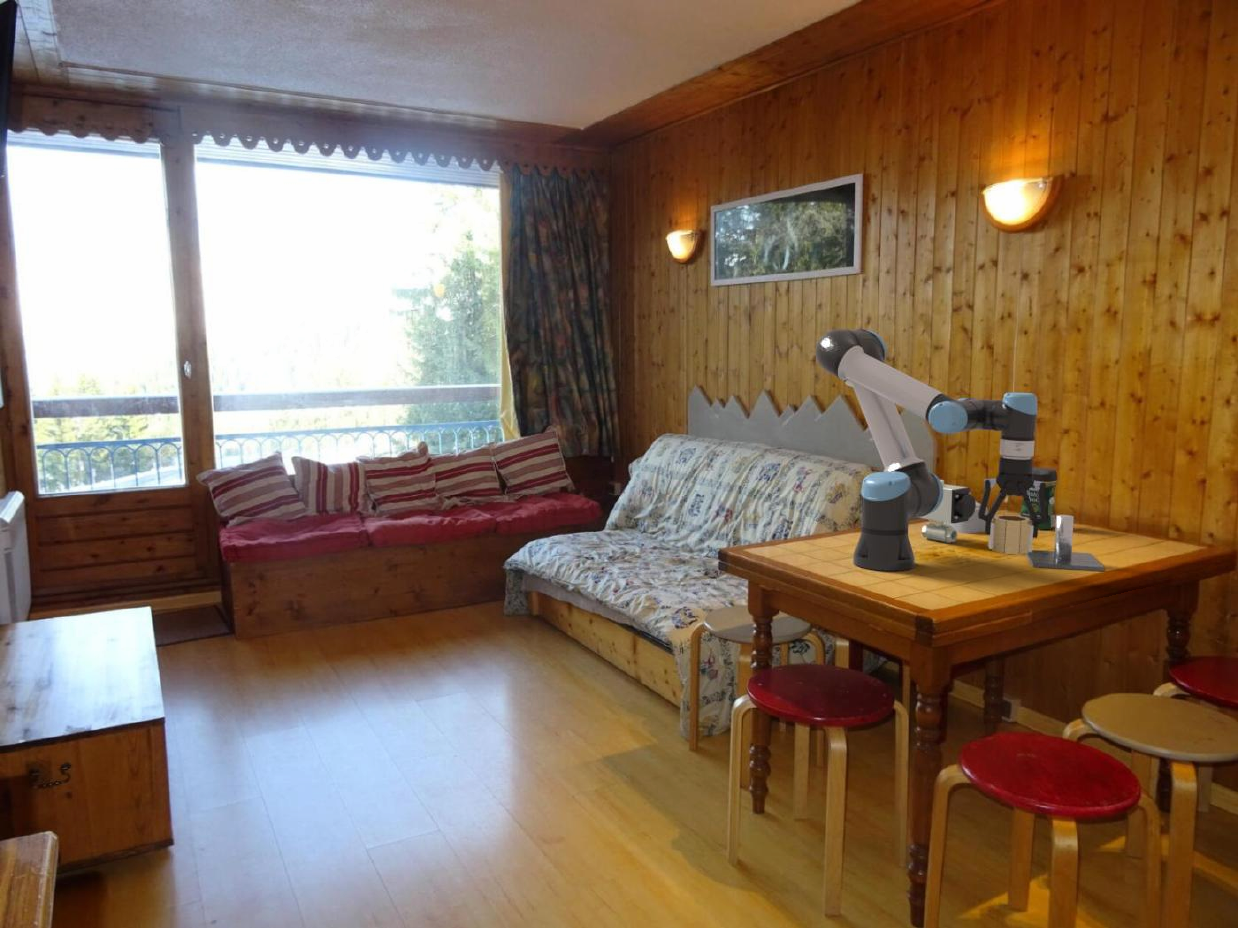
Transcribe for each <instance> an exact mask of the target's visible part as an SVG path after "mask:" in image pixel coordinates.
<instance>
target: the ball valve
mask: <svg viewBox="0 0 1238 928" xmlns="http://www.w3.org/2000/svg"><path fill="white" fill-rule="evenodd" d="M940 481H941V483H942V485H943V499H942V501H941V504H940V505H939V507H938V508H937V509H936V510H935V511H933V512H932V513H929V514H928V515H925V516H923V517H916V518H918V519H923V520H924V519H925V520H928V524H924V525H923V526H922V528H921V529H922V530H921V534H922V536H923V537H924V538H926V539H927V540H931V541H935V542H940V543H941V542H942V543H947V544H950V543H954V542H956V541H957V538H958V532H957V531H956V529H953V527H952V526H950V525H948V524H944V522H947V523H953V524H955V523H960V522H965V521H968V520H969V518H970V517H971V516H972V515H973V514H974V511H975V507H976V502H977V501H976V499H975V497H974V496H973V494H972V493H971V487H968V486H961V485H960V486H959V485H954V484H953V485H952V484H945V480H944V479H940ZM975 501H976V502H975ZM932 522H935V523H932Z"/></svg>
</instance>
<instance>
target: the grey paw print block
mask: <svg viewBox="0 0 1238 928" xmlns="http://www.w3.org/2000/svg"><path fill="white" fill-rule="evenodd" d="M975 502H976V507H975V511H974V514H973V515H972V516H971V517H970V518H969V520H968V521H965V522H960V523H955V524H953V523H947V522H944V524H948V525H950V526H952V527H953V529H956V531H957V533H961V534H977V533H985V521H984V520H982V519H979V517H978V512H979V508H980V504H981V503H979V502H978V501H977V500H975ZM987 514H988V507H986V511H985V515H987Z"/></svg>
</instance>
